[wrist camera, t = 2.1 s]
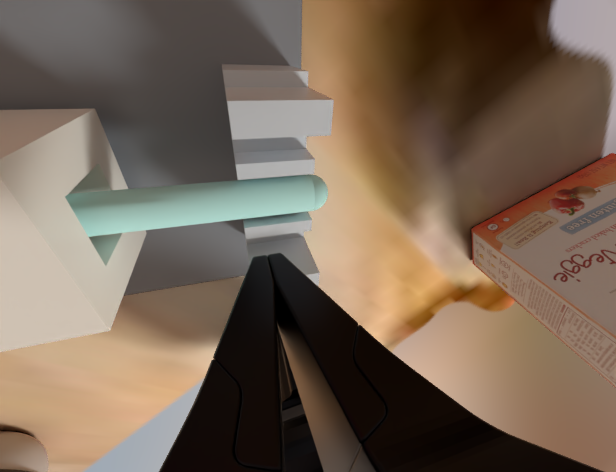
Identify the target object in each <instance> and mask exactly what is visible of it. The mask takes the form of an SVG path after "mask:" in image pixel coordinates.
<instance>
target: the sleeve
mask: <svg viewBox="0 0 616 472" xmlns="http://www.w3.org/2000/svg"><path fill="white" fill-rule="evenodd" d="M122 189H128V187H127V185H126V182H125V180H124V177H123V175H122V173H121V170H120V168H119V165H118V163H117V160H116V158H115V156H114V153H113V151H112V148H111V146H110V144H109V141H108V139H107V136H106V134H105V132H104V129H103V127H102V124H101V122H100V120H99V117H98V115H97V112H96V110H95V109H29V110H0V352H3V351H8V350H13V349H19V348H24V347H29V346H34V345H39V344H44V343H50V342H55V341H60V340H65V339H70V338H76V337H81V336H86V335H91V334H96V333H101V332H107V331H110V330H111V327H112V325H113V322H114V319H115V317H116V314H117V311H118V309H119V306H120V303H121V301H122V298H123V295H124V293H125V290H126V287H127V284H128V282H129V279H130V276H131V274H132V271H133V268H134V266H135V263H136V260H137V258H138V255H139V252H140V250H141V247H142V244H143V242H144V239H145V236H146V234H147V233H146V230H143V231H135V232H126V233H117V234H109V235H100V236H91V237H88V235H87V234H86V232H85V230H84V229H83V227H82V225H81V223H80V222H79V220H78V218H77V217H76V215H75V213H74V211H73V210H72V208H71V206H70V205H69V203H68V201H67V200H66V198H65V197H66V196H67V195H68V194H73V193H85V192H98V191H110V190H122Z"/></svg>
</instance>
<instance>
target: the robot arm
mask: <svg viewBox="0 0 616 472" xmlns="http://www.w3.org/2000/svg"><path fill="white" fill-rule="evenodd" d="M213 358H214V359H213V360H212V361H211V364H210V366H209V369H208V371H207V374H206V376H205V379H204V381H203V383H202V386H201V388H200V390H199V393H198V395H197V397H196V399H195V402H194V404H193V406H192V408H191V410H190V412H189V414H188V416H187V418H186V420H185V422H184V424H183V426H182V428H181V430H180V432H179V434H178V436H177V438H176V440H175V442H174V444H173V446H172V448H171V450H170V452H169V453H168V455H167V457H166V459H165V461H164V463H163V465H162V467H161V469H160V471H159V472H603V471H601V470H598V469H596V468H593V467H591V466H588V465H586V464H583V463H581V462H578V461H576V460H573V459H571V458H568V457H565V456H563V455H560V454H558V453H555V452H553V451H550V450H548V449H545V448H542V447H540V446H537V445H535V444H532V443H530V442H527V441H525V440H522V439H520V438H517V437H515V436H512V435H510V434H508V433H506V432H504V431H502V430H500V429H497V428H496V427H494V426H492V425H490V424H488V423H487V422H485V421H483V420H482V419H480V418H478V417H477V416H475V415H473V414H472V413H471V412H469V411H468V410H467V409H465V408H464V407H463V406H461V405H460V404H459V403H457V402H456V401H454V400H453V399H452V398H450V397H449V396H448V395H446V394H445V393H444V392H443V391H441V390H440V389H438V388H437V387H436V386H434V385H433V384H432V383H431V382H429V381H428V380H427V379H425V378H424V377H423V376H421V375H420V374H419V373H417V372H416V371H415V370H413V369H412V368H411V367H409V366H408V365H407V364H405V363H404V362H403V361H402V360H400V359H399V358H398V357H397V356H395V355H394V354H393V353H391V352H390V351H389V350H388V349H387V348H385V347H384V346H383V345H382V344H381V343H380V342H379V341H377V340H376V339H375V338H374V337H373V336H372V335H370V334H369V333H368V332H367V331H366V330H365V329H364V328H363V327H362V326H361V325H358V323H357V322H356V321H355V320H354V319H353V318H352V317H351V316H350V315H349V314H347V313H346V312H345V311H344V310H343V309H342V308H341V307H340V306H339V305H338V304H337V303H336V302H334V301H333V300H332V299H331V298H330V297H329V296H328V295H327V294H326V293H325V292H324V291H322V290H321V289H320V288H319V287H318V286H317V285H316V284H315V283H314V282H313V281H312V280H310V279H309V278H308V277H307V276H306V275H305V274H304V273H303V272H302V271H301V270H300V269H298V268H297V267H296V266H295V265H294V264H293V263H292V262H291V261H290V260H289V259H288V258H286V257H285V256H284V255H283V254H282V253H274V254H269V255H268V257H267V256H266V255H261V256H255V257H253V258H252V260H251V263H250V265H249V268H248V271H247V273H246V276H245V278H244V281H243V283H242V286H241V288H240V291H239V293H238V296H237V298H236V301H235V303H234V306H233V308H232V311H231V313H230V316H229V319H228V321H227V324H226V326H225V329H224V331H223V334H222V336H221V339H220V341H219V344H218V346H217V349H216V351H215V354H214V357H213Z"/></svg>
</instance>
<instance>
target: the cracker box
mask: <svg viewBox="0 0 616 472" xmlns="http://www.w3.org/2000/svg"><path fill="white" fill-rule="evenodd" d="M471 232H472V258H473V264H474V265H475V266H476V267H477V268H478V269H480V270H481V271H482V272H483V273H484V274H485V275H486V276H487V277H489V278H490V279H491V280H492V281H493V282H494V283H495V284H497V285H498V286H499V287H500V288H501V289H502V290H503V291H505V292H506V293H507V294H508V295H509V296H510V297H511V298H513V299H514V300H515V301H516V302H517V303H518V304H520V305H521V306H522V307H523V308H524V309H525V310H526V311H527V312H529V313H530V314H531V315H532V316H533V317H534V318H536V319H537V320H538V321H539V322H540V323H541V324H543V325H544V326H545V327H546V328H547V329H548V330H549V331H550V332H552V333H553V334H554V335H555V336H556V337H557V338H558V339H560V340H561V341H562V342H563V343H564V344H566V346H568V347H569V348H570V349H571V350H572V351H574V352H575V353H576V354H577V355H578V356H579V357H580V358H581V359H583V360H584V361H585V362H586V363H587V364H588V365H590V366H591V367H592V368H593V369H594V370H595V371H596V372H598V373H599V374H600V375H601V376H602V377H603V378H605V379H606V380H607V381H608V382H609V383H610V384H611V385H612V386H614V387H615V388H616V154H614V153H611V154H609V155H607V156H606V157H604V158H602V159H600V160H598V161H596V162H594V163H593V164H591V165H589V166H587V167H585V168H583V169H581V170H580V171H578V172H576V173H574V174H572V175H570V176H568V177H567V178H565V179H563V180H561V181H559V182H557V183H555V184H553V185H552V186H550V187H548V188H546V189H544V190H542V191H541V192H539V193H537V194H535V195H533V196H531V197H529V198H527V199H526V200H524V201H522V202H520V203H518V204H516V205H514V206H513V207H511V208H509V209H507V210H505V211H503V212H501V213H499V214H498V215H496V216H494V217H492V218H490V219H488V220H486V221H484V222H483V223H481V224H479V225H477V226H475V227H473V228H472V229H471Z"/></svg>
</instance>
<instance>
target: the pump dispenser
mask: <svg viewBox="0 0 616 472" xmlns="http://www.w3.org/2000/svg"><path fill="white" fill-rule="evenodd" d="M0 472H48V455H47V452H46V449H45V447H44V446H43V444H42V443H41V442H40V441H38V440H37V439H36V438H34V437H32V436H30V435H27V434H23V433H19V432H11V431H0Z"/></svg>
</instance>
